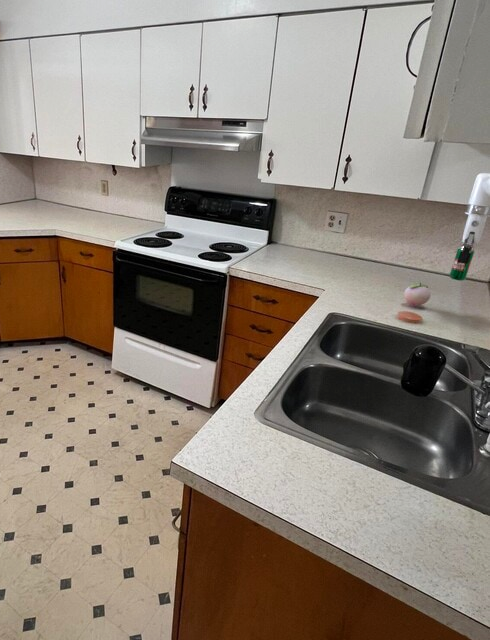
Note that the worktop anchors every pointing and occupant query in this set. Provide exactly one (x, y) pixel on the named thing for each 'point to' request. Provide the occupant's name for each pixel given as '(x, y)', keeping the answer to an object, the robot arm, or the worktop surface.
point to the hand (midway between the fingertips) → (462, 260)
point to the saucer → (409, 317)
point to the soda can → (460, 266)
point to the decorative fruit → (417, 294)
